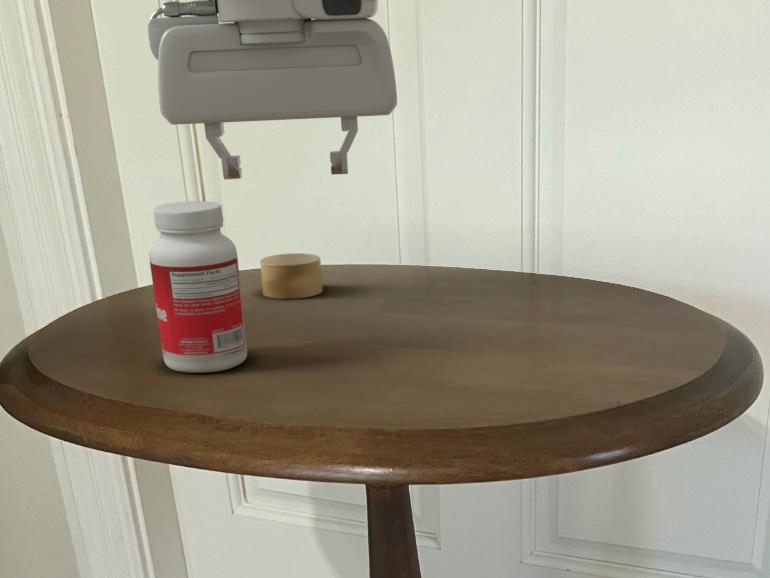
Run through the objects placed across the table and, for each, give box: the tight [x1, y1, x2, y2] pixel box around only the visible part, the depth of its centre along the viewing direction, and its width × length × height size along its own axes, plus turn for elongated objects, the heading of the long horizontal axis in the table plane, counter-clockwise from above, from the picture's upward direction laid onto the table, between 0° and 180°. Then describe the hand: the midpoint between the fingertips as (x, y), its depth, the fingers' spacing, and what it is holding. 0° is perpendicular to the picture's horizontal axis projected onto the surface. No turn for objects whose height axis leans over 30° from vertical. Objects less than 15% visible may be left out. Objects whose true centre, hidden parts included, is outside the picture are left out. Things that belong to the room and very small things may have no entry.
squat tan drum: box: [259, 253, 323, 300], centre depth 100 cm, size 6×6×3 cm
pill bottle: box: [148, 200, 248, 374], centre depth 78 cm, size 6×6×11 cm
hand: (286, 176), depth 96 cm, fingers open, 8 cm apart
